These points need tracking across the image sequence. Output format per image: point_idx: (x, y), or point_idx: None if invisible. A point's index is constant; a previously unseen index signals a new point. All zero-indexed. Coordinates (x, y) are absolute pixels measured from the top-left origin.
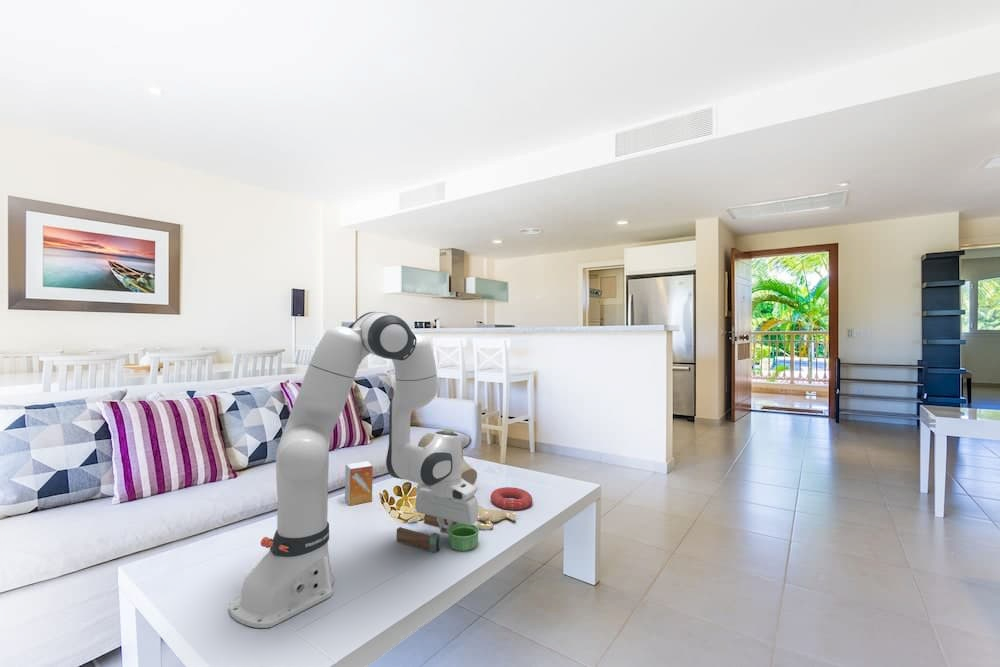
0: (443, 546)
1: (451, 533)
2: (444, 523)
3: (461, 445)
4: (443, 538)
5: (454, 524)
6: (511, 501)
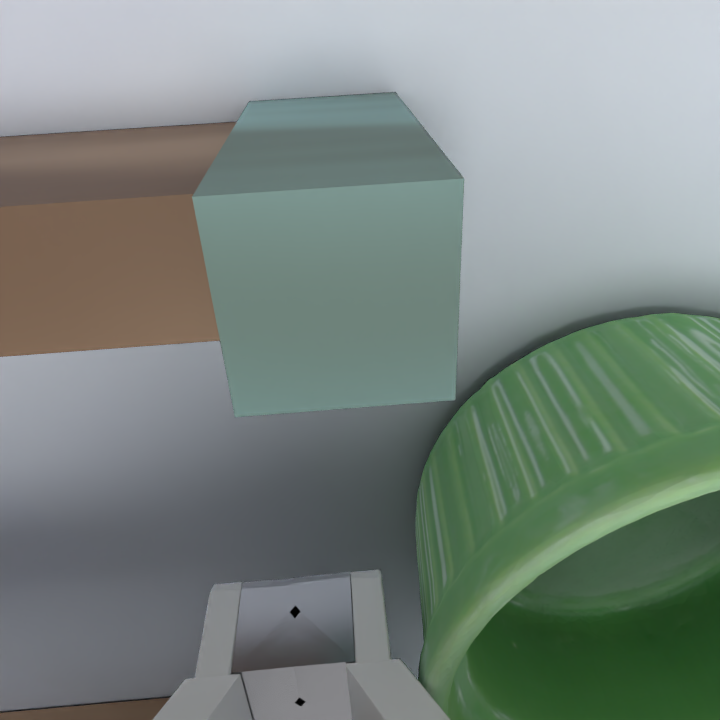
0: (394, 611)
1: (477, 673)
2: (223, 703)
3: None
4: (255, 495)
5: (451, 654)
6: None
